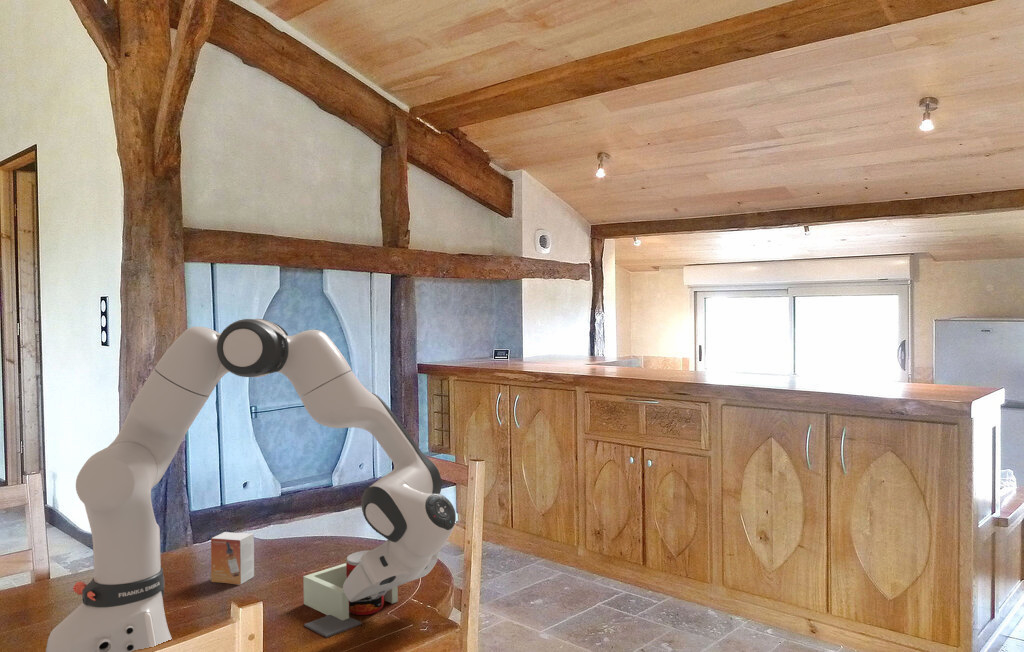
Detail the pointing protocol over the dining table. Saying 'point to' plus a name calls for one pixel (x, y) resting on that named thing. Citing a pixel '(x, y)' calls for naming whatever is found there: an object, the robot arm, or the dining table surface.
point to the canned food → (367, 603)
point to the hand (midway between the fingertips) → (376, 594)
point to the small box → (232, 558)
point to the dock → (333, 592)
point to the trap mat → (331, 625)
